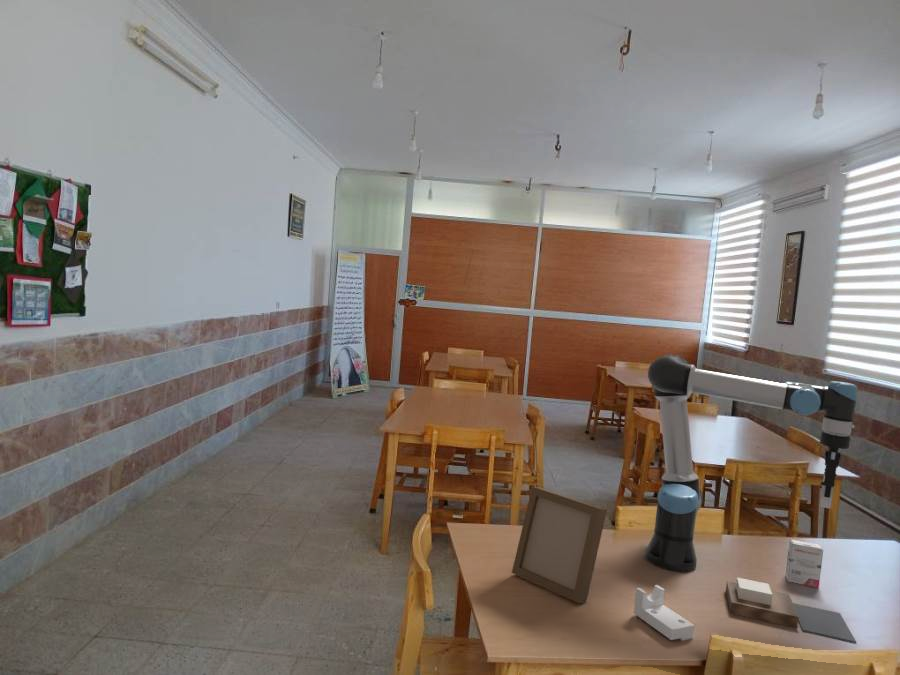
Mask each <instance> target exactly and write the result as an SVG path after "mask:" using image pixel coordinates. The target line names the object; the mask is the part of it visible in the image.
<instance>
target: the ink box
mask: <svg viewBox="0 0 900 675" xmlns="http://www.w3.org/2000/svg"><path fill="white" fill-rule="evenodd" d="M823 555H824V548H823V547H822V546H821V545H820V544H816V543H811V542H807V541H806V542H805V541H802V540H795V539H789V542H788V550H787V557H786V558H787V560H786V567H785V576H784V577H785V579H786V580H787V582H788V583H792V582H793V584H797V583H798V585H804V586H808V587H814V588H817V589H818V588H820V581H821V572H822V564H823Z"/></svg>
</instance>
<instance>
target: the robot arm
mask: <svg viewBox="0 0 900 675" xmlns="http://www.w3.org/2000/svg"><path fill="white" fill-rule="evenodd" d="M647 379H648V381H649V383H650V385H651V386H652V387H653V395H654V398H656V399H657V400H658V401H659V407H660V408H659V410H660V419H661V420H660V421H661V433H662V442H663V443H662V444H663V453H664V454H663V455H664V463H665V464H664V465H665V467H664V468H665V473H664V474H662V476H661V484H662V486H661V487H660V488H659V491H658V494H657V503H656V504H657V507H656V515H655V521H654V530H653V535H652V537H651V539H650V541H649V543H648V545H647V547H646V549H645V559H646V560H647V561H648V562H649V563H650V564H653V565H655V566H657V567H658V568H662V569H664V570H668V571H673V572H680V573H681V572H684V573H687V572H693V571H694V570H695V569H696V568H697V556H696V550H695V545H694V534H695V528H696V519H697V515H698V512H699V511H700V508H701V506H702V504H703V493H702V490H701V489H700V488H701V486H700V479H699V475H698V474H696V473H695V471H694V468H693V467H694V466H693V456H692V455H693V454H692V443H691V434H690V423H689V410H688V399H689V398H690V397H691V395H692V394H698V395H702V396H707V397H713V398H720V399H725V400H730V401H735V402H740V403H741V402H742V403H746V404H752V405H757V406H763V407H767V408H768V407H769V408H774V409H778V410H784V411H789V412H793V413H797V415H800V416H801V415H802V416H810V415H813V414H815V413H816V412H818V411H819V412H824V414H823V419H822V424H821V425H822V426H821V430H822V432H821V434H820V440H819V442H820V444H821V445H822V446H826V447H827V448H828V449H827V450H825V453H824V458H825V459H824V465H825V468H824V473H823V479H822V481H821V482H820V486H821V485H822V486H821V491H820V504H819V507H821V508H825V509H831V506H832V501H833V494H834V489H835V486H836V484H835V480H836V478H837V476H838V474H837V468H838V467H839V463H840V460H841V456H842V454H841V452H839V449H840V450H841V449H842V450H846V449H849V448H850V443H851V436H850V435H851V434H852V429H855V425H854V424H853V422H854V416H855V412H856V411H855V410H856V406H857V405H856V404H857V401H858V399H857V398H858V397H857V396H858V387H857V385H856V384H853V383H850V382H844V381H836V380H830V381H829V382H828V385H827V386H824V385H823V386H820V385H814V384H809V383H803V382H798V381H796V382H795V381H785V382H784V383H782V382H781V383H779V382H774V381H769V380H763V379H758V378H752V377H746V376H742V375H741V376H740V375H736V374H735V375H734V374H729V373H723V372H718V371H711V370H705V369H701V368H696V366H695V364H689V363H688V361H686V359H684V358H683V357H681V356H680V355H677V354H665V355H663V356H660V357H658V358H655V359H654V360H653V361H652V362H651V363H650V366H648V369H647Z"/></svg>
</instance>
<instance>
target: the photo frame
mask: <svg viewBox="0 0 900 675" xmlns="http://www.w3.org/2000/svg"><path fill="white" fill-rule="evenodd" d="M607 510H608V509H607V508H604V507H600V506H597V505H593V504H591V503H589V502H585V501H581V500H579V499H576V498H574V497H573V498H572V497H570V496H567V495H564V494H561V493H558V492H554V491H551V490H549V489H546V488H542V487H538V486H531V490H530V495H529V498H528V501H527V507H526V511H525V515H524V520H523V524H522V527H521V528H522V529H521V533H520V536H519V541H518V545H517V547H516V548H517V549H516V553H515V558H514V562H513V565H512V571H511V574H514V575H515V576H517V577H520V578H522V579H524V580H526V581H529V582H531V583H532V584H533V583H534V584H536V585H537V586H540V587H543V588H544V589H547V590H549V591H551V592H553V593H556V594H558V595H559V596H562V597H565V598H566V599H569V600H571V601H574V602H575V603H577V604H582V603H587V600H588V596H589V591H590V587H591V584H592V583H591V582H592V578H593V574H594V570H595V564H596V560H597V556H598V551H599V548H600V547H599V546H600V543H601V539H602V533H603V529H604V525H605V521H606V516H607Z"/></svg>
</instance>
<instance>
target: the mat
mask: <svg viewBox="0 0 900 675" xmlns="http://www.w3.org/2000/svg"><path fill="white" fill-rule="evenodd" d="M793 605H794V607H795V609H796V612H797V614H798V616H799V620H798V625H799V627H800V629H801V631H802V632H805V633H810V634H813V635H819V636H823V637H827V638H831V639H836V640H840V641H845V642H848V641H850V642H849V643H853V642H854V643H853V644H857V640H856V638H855V637H854V635H853V633H852V632H851V629H850V628H849V626H848V625H847V623H846V621H845V619H844V618H843V616H842V614H841V612H837V611H832V610H827V609H823V608H819V607H815V606H814V607H813V606H809V605H804V604H799V603H796V602H793Z"/></svg>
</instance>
